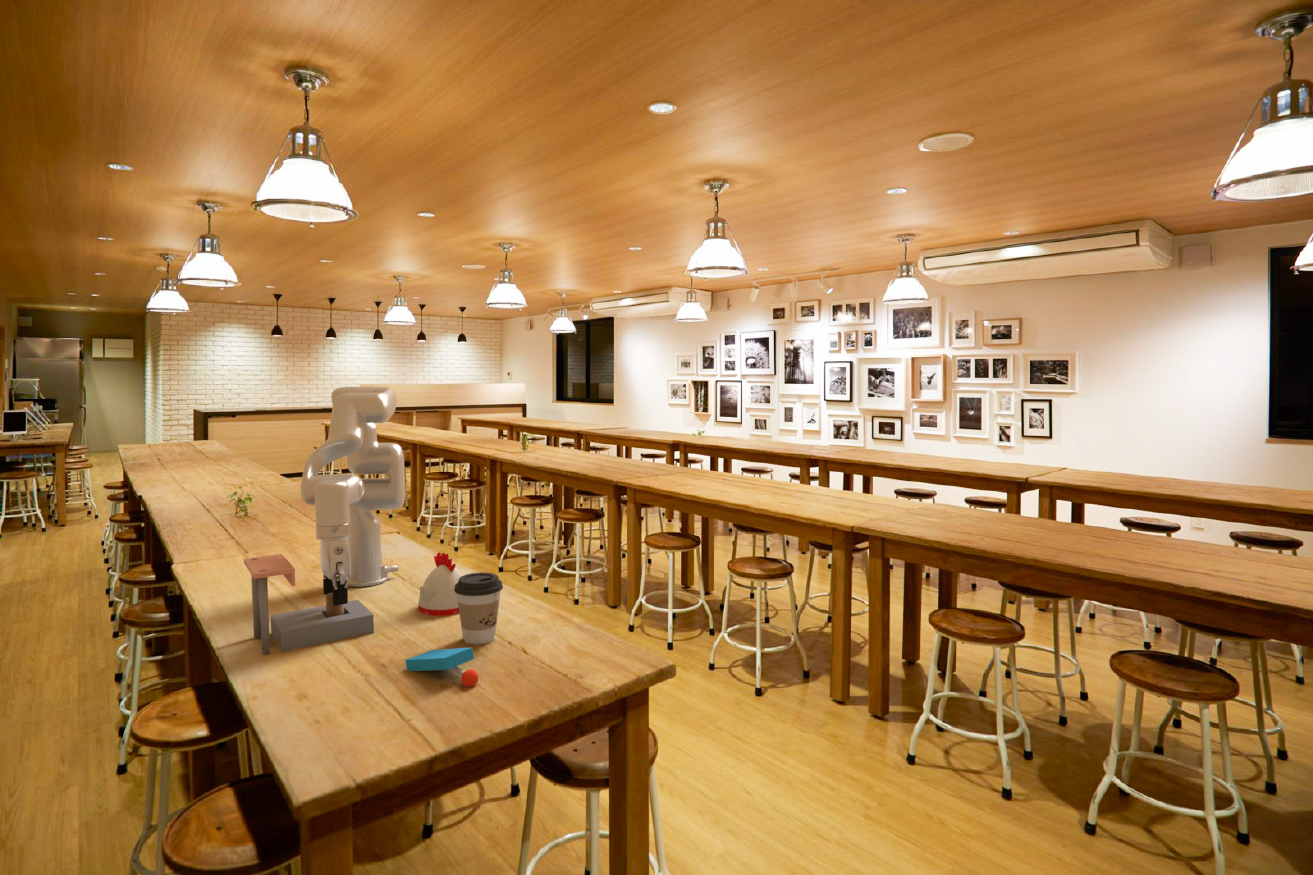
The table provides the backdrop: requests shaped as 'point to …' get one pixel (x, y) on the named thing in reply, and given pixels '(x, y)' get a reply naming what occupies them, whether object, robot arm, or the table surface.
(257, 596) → the pink topped stand
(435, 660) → the lever
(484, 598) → the coffee cup
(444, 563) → the kitchen timer
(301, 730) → the table surface
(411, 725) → the table surface
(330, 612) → the walnut peg
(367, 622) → the socket block
